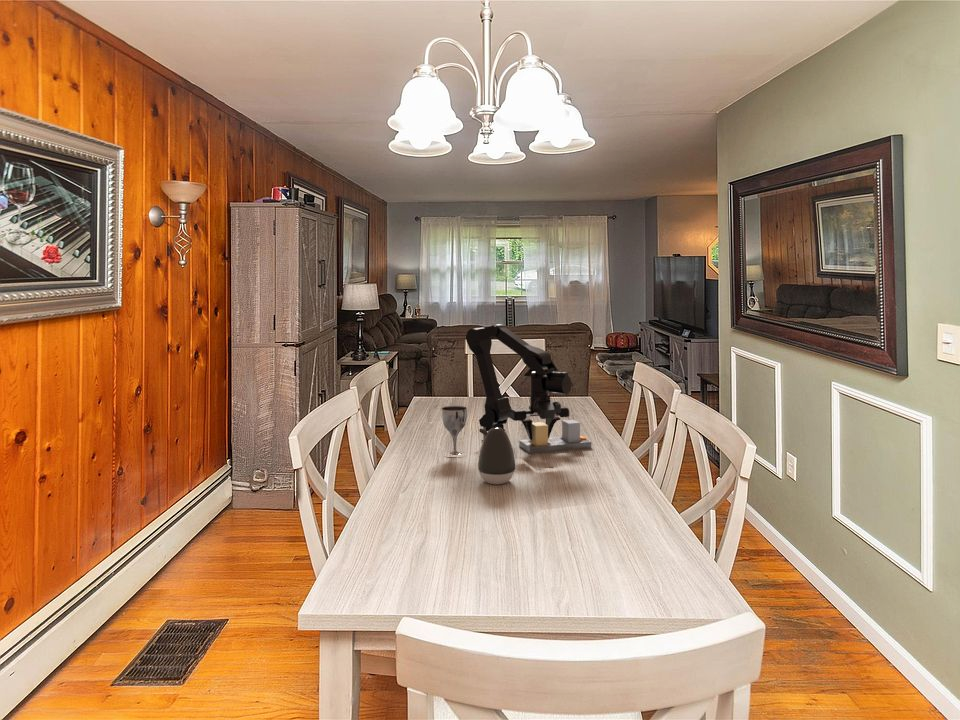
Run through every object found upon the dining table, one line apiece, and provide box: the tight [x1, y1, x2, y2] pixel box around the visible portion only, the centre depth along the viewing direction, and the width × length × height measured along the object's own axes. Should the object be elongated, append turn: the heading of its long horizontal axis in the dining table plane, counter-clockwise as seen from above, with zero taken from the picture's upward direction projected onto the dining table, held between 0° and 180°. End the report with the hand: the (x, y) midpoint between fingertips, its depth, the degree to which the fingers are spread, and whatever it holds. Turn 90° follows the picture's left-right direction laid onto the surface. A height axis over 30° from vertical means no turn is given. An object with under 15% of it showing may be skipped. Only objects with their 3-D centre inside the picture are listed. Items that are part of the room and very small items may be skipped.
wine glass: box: [441, 405, 468, 455], centre depth 209 cm, size 8×8×15 cm
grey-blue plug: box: [561, 419, 581, 443], centre depth 215 cm, size 4×5×8 cm
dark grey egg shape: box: [477, 427, 516, 485], centre depth 182 cm, size 10×10×15 cm
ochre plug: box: [530, 421, 548, 446], centre depth 212 cm, size 4×5×8 cm
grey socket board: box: [518, 435, 592, 455], centre depth 214 cm, size 21×10×4 cm, turn 106°
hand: (539, 439), depth 212 cm, fingers open, 5 cm apart
